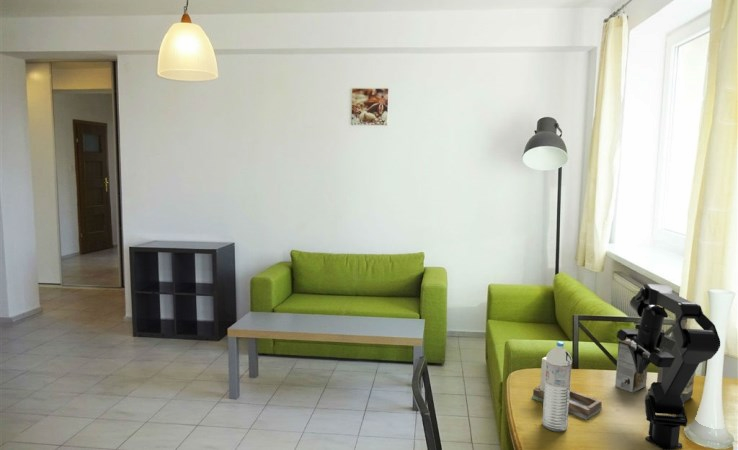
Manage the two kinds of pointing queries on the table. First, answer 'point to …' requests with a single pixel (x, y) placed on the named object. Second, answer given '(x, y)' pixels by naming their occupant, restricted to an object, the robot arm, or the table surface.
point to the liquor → (664, 370)
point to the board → (576, 403)
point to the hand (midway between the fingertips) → (639, 373)
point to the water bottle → (557, 389)
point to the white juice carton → (543, 374)
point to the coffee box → (628, 369)
